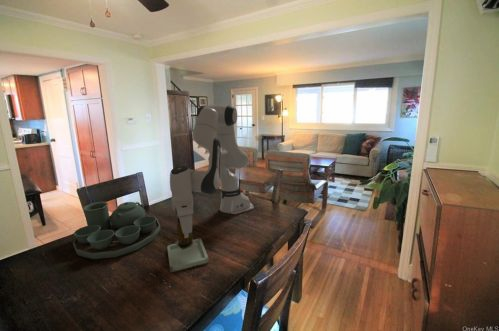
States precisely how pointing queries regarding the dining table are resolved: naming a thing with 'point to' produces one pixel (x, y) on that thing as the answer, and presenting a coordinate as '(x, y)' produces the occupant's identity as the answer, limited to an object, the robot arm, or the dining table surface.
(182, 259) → the tray
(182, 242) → the condiment
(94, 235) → the tea set
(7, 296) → the dining table surface
